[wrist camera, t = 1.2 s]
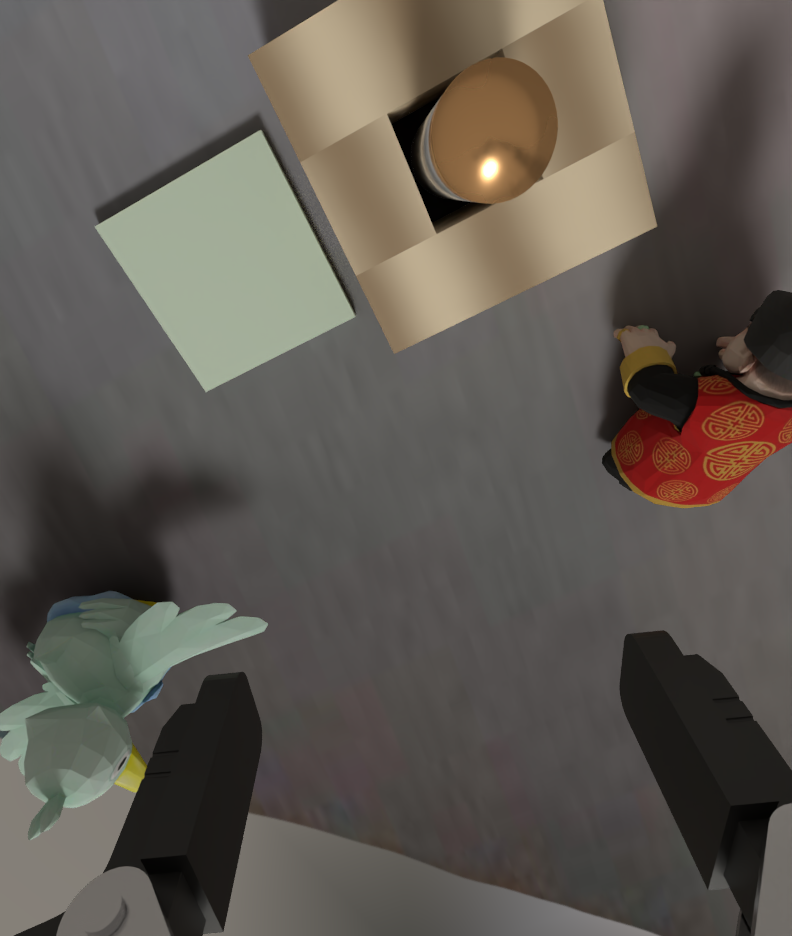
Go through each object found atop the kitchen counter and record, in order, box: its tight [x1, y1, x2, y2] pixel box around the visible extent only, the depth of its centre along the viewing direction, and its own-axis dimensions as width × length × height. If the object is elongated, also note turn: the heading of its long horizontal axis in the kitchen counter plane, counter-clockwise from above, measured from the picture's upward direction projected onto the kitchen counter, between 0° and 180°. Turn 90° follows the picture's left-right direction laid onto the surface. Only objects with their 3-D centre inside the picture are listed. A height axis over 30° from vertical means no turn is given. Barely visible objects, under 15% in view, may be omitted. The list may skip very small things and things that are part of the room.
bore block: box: [248, 0, 657, 354], centre depth 26 cm, size 13×13×6 cm
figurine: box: [602, 290, 792, 508], centre depth 30 cm, size 10×10×15 cm
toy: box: [0, 591, 268, 840], centre depth 35 cm, size 23×12×15 cm, turn 127°
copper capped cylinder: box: [411, 57, 558, 204], centre depth 23 cm, size 4×4×12 cm
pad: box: [95, 130, 356, 392], centre depth 30 cm, size 10×10×1 cm
